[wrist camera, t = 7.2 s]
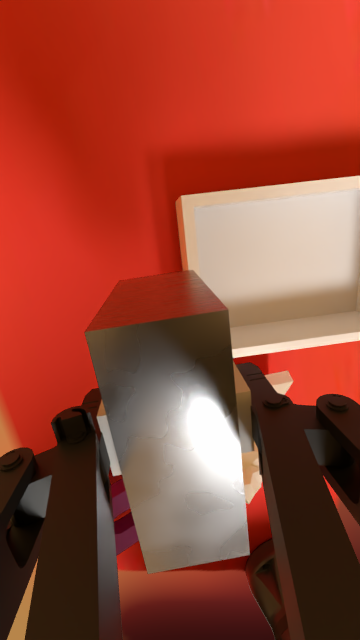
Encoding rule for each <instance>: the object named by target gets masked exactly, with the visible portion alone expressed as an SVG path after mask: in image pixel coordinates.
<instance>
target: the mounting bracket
mask: <svg viewBox="0 0 360 640" xmlns="http://www.w3.org/2000/svg"><path fill="white" fill-rule="evenodd" d="M111 491H112V504H113V518H114V519H115V518H116V517H117V516H118V515H120V514H121V513H123V512H124V511H126V510H128V509H129V508H130V504H129V500H128V497H127V493H126V489H125V485H124V481H123V479H121V480H119V481H117V482H116V483H114V484H112V485H111ZM114 531H115V544H116V556H117V555H118V554H120V553H121V552H123V551H124V550H126V549H127V548H129V547H130V546H132V545H133V544H135V543H136V542H137V541H139V539H138V535H137V531H136V527H135V523H134V520H133V516H132V512H130V513H129V514H127V515H126V516H124V517H122V518H121V519H119V520H117V521H115V522H114Z"/></svg>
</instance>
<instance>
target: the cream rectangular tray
mask: <svg viewBox="0 0 360 640" xmlns="http://www.w3.org/2000/svg"><path fill="white" fill-rule="evenodd" d="M175 204H176V213H177V223H178V232H179V241H180V251H181V260H182V269H183V271H186V270H194V272H195V273H196V274H197V275H198V276H199V277H200V278H201V279H202V280H203V282H204V283H205V284H206V285H207V286H208V287H209V288H210V289H211V291H212V292H213V293H214V294H215V295H216V296H217V297H218V298H219V299H220V301H221V302H222V303H223V304H224V305H225V306H226V307H227V308H228V310H229V322H230V333H231V344H232V356H233V358H237V357H244V356H251V355H259V354H266V353H273V352H280V351H287V350H294V349H301V348H309V347H316V346H323V345H330V344H337V343H344V342H351V341H359V340H360V176H351V177H342V178H333V179H325V180H316V181H307V182H298V183H289V184H280V185H271V186H262V187H254V188H245V189H236V190H227V191H218V192H209V193H200V194H191V195H182V196H180V197H179V198H178V199H177V200H176V201H175Z"/></svg>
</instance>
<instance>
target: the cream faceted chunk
mask: <svg viewBox="0 0 360 640" xmlns="http://www.w3.org/2000/svg"><path fill="white" fill-rule="evenodd" d="M264 376H265V377H266V378H267V380H268V381H269V382H270V384H271V385H272V386H273V388H274V389H275V391H276V392H277V393H279V394H283V395H285V393H286V392H287V390H288V389H289V387H290V386H291V384H292V383H293V380H292V378H291V376H290V374H289V372H288V371H283V372H278V373H273V374H268V375H264ZM254 450H255V451H252V452H247V453H241V458H242V469H243V481H244V492H245V503H248V504H249V503H250V502H251V500H252V498H253V497H254V495H255V493H256V492H257V491H258V490H259V489H260V488H261V482H262V476H261V475H260V474H259V458H258V448H257V446H256V444H255V442H254Z"/></svg>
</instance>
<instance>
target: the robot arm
mask: <svg viewBox="0 0 360 640" xmlns="http://www.w3.org/2000/svg"><path fill="white" fill-rule="evenodd" d="M233 367H234V378H235V390H236V401H237V412H238V424H239V435H240V447H241V453H247V452H252V451H255V450H254V442H255V444H256V446H257V448H258V458H259V474H260V475H261V476H262V481H263V487H264V493H265V498H266V504H267V510H268V515H269V521H270V526H271V532H272V538H273V539H271V540H268V541H267V542H265V543H263V544H262V545H260V546H259V547H258V548H257V549H256V550H255V551H254V552H253V553H252V554H251V555H250V557H249V559H248V561H247V563H246V568H245V571H246V576H247V580H248V584H249V587H250V590H251V592H252V594H253V596H254V598H255V599H256V601H257V603H258V605H259V606H260V608H261V610H262V612H263V614H264V615H265V617H266V619H267V621H268V623H269V624H270V626H271V628H272V631H273V634H274V637H275V640H360V564H359V562H358V559H357V557H356V554H355V552H354V550H353V547H352V545H351V542H350V540H349V538H348V535H347V533H346V530H345V528H344V525H343V523H342V521H341V518H340V516H339V513H338V511H337V509H336V506H335V504H334V501H333V499H332V496H331V494H330V492H329V489H328V487H327V484H326V482H325V480H324V477H325V479H326V480H327V481H328V483H329V484H330V485H331V487H332V488H333V490H334V491H335V492H336V494H337V495H338V496H339V498H340V499H341V501H342V502H343V503H344V505H345V506H346V507H347V509H348V510H349V512H350V513H351V514H352V516H353V517H354V518H355V520H356V521H357V522H358V524H359V525H360V405H359V404H358V403H356V402H355V401H354V400H352V399H350V398H349V397H346V396H343V395H338V394H326V395H323V396H320V397H319V398H318V399H317V401H316V406H308V405H296V404H293V402H292V401H291V400H290V398H289V397H287V396H285V395H283V394H279V393H277V392H276V391H275V389H274V388H273V386H272V385H271V384H270V382H269V381H268V380H267V378H266V377H265V376H264V374H262V371H261V370H260V369H259V367H258V366H256V365H254V364H252V363H250V362H249V363H243V364H237V365H235V363H234V361H233ZM51 425H52V428H53V431H54V434H55V437H56V439H57V442H58V443H57V446H56V447H54V448H52V449H50V450H48V451H45V452H43V453H40V454H38V455H35V456H34V454H33V451H32V450H31V449H29V448H18V449H15V450H12V451H10V452H8V453H6V454H5V455H3V456H2V457H0V640H7V637H8V635H9V632H10V629H11V627H12V624H13V622H14V619H15V617H16V614H17V611H18V609H19V606H20V603H21V601H22V598H23V596H24V593H25V590H26V588H27V585H28V583H29V580H30V577H31V574H32V572H33V569H34V567H35V564H36V562H37V559H38V563H37V569H36V575H35V581H34V587H33V593H32V599H31V605H30V611H29V617H28V623H27V629H26V635H25V640H123V639H122V625H121V611H120V597H119V585H118V571H117V558H116V544H115V531H114V518H113V504H112V491H111V484H110V480H109V477H108V474H109V469H110V467H111V471H112V474H113V476H117V475H122V474H121V470H120V466H119V462H118V458H117V455H116V451H115V447H114V443H113V439H112V435H111V432H110V428H109V424H108V420H107V416H106V412H105V409H104V405H103V401H102V397H101V393H100V389H99V388H97V389H92V390H91V391H90V392H89V393H88V394H87V395H86V396H85V398H84V400H83V403H82V405H81V406H76V407H71V408H69V409H66V410H64V411H62V412H61V413H59V414H58V415H57V416H56V417H54V418H53V420H52V422H51ZM322 474H323V475H322ZM323 476H324V477H323ZM38 556H39V557H38Z"/></svg>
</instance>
